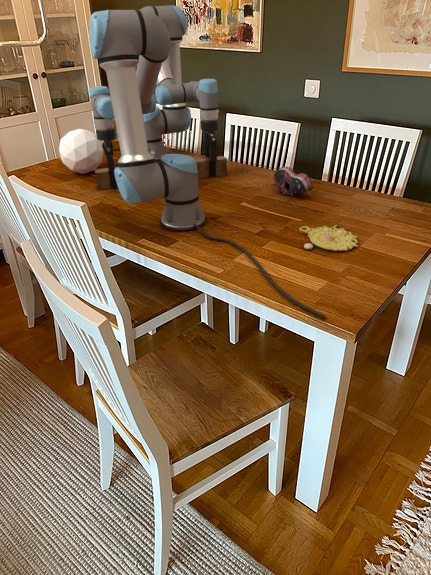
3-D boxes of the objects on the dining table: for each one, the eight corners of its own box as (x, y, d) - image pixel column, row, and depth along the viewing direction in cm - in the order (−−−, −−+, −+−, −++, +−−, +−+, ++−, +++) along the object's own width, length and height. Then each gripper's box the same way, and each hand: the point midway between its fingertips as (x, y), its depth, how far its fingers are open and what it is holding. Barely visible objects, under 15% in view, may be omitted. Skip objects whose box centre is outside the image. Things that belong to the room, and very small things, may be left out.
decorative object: (343, 255, 128) (285, 234, 139) (342, 262, 130) (284, 241, 140) (372, 230, 142) (317, 213, 152) (371, 237, 143) (316, 219, 153)
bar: (98, 189, 186) (95, 172, 182) (97, 185, 190) (94, 169, 186) (226, 175, 198) (226, 159, 194) (223, 171, 202) (223, 155, 198)
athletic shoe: (283, 166, 186) (259, 173, 182) (313, 160, 166) (287, 167, 162) (289, 193, 189) (265, 200, 185) (319, 190, 169) (293, 198, 165)
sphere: (90, 188, 207) (76, 163, 188) (59, 168, 212) (42, 141, 193) (116, 160, 212) (105, 132, 193) (86, 141, 216) (72, 112, 198)
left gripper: (223, 123, 179) (224, 179, 191) (212, 114, 194) (214, 167, 206) (205, 125, 177) (207, 181, 190) (195, 116, 192) (198, 169, 205)
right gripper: (116, 133, 170) (124, 191, 183) (113, 123, 185) (120, 177, 198) (96, 134, 169) (106, 193, 181) (94, 124, 184) (103, 179, 196)
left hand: (211, 174), depth 198 cm, fingers closed on bar, 5 cm apart
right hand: (113, 184), depth 189 cm, fingers closed on bar, 5 cm apart
